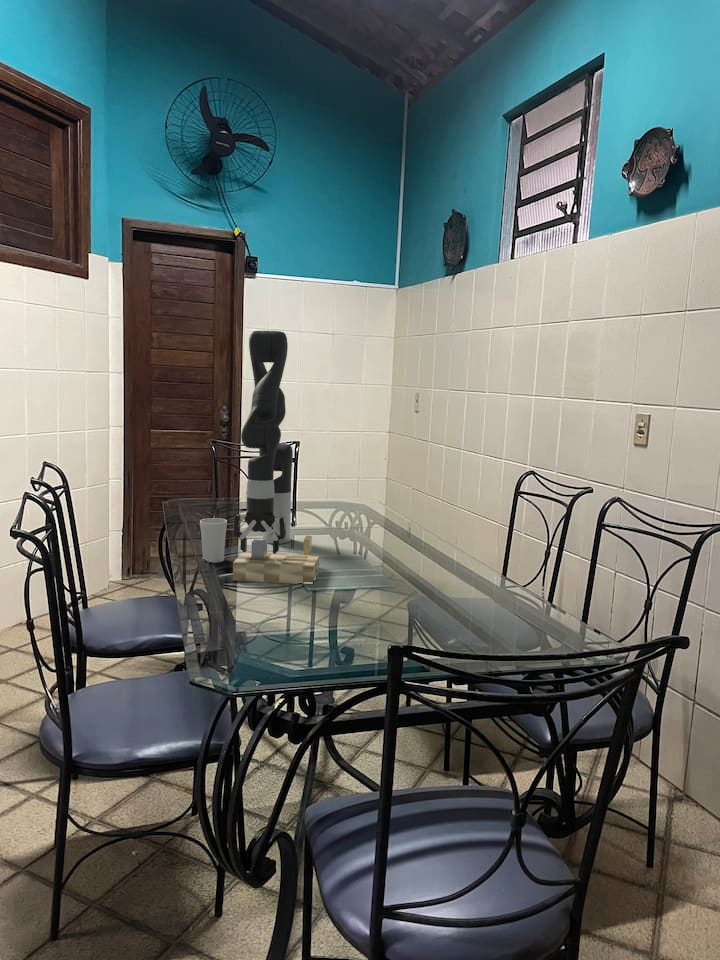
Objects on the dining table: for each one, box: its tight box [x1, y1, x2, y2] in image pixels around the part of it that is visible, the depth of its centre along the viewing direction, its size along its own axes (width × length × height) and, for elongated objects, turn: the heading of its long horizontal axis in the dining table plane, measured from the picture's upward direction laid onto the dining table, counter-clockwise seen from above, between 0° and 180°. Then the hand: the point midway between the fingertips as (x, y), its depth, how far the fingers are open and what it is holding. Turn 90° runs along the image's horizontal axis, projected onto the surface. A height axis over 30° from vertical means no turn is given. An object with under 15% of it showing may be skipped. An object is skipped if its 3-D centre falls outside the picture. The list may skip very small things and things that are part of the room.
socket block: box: [232, 551, 320, 585], centre depth 193 cm, size 12×22×5 cm, turn 86°
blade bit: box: [303, 535, 313, 555], centre depth 203 cm, size 5×2×9 cm, turn 176°
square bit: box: [251, 538, 268, 561], centre depth 193 cm, size 4×4×10 cm
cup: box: [199, 517, 228, 564], centre depth 208 cm, size 8×8×12 cm
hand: (259, 552), depth 193 cm, fingers open, 8 cm apart
